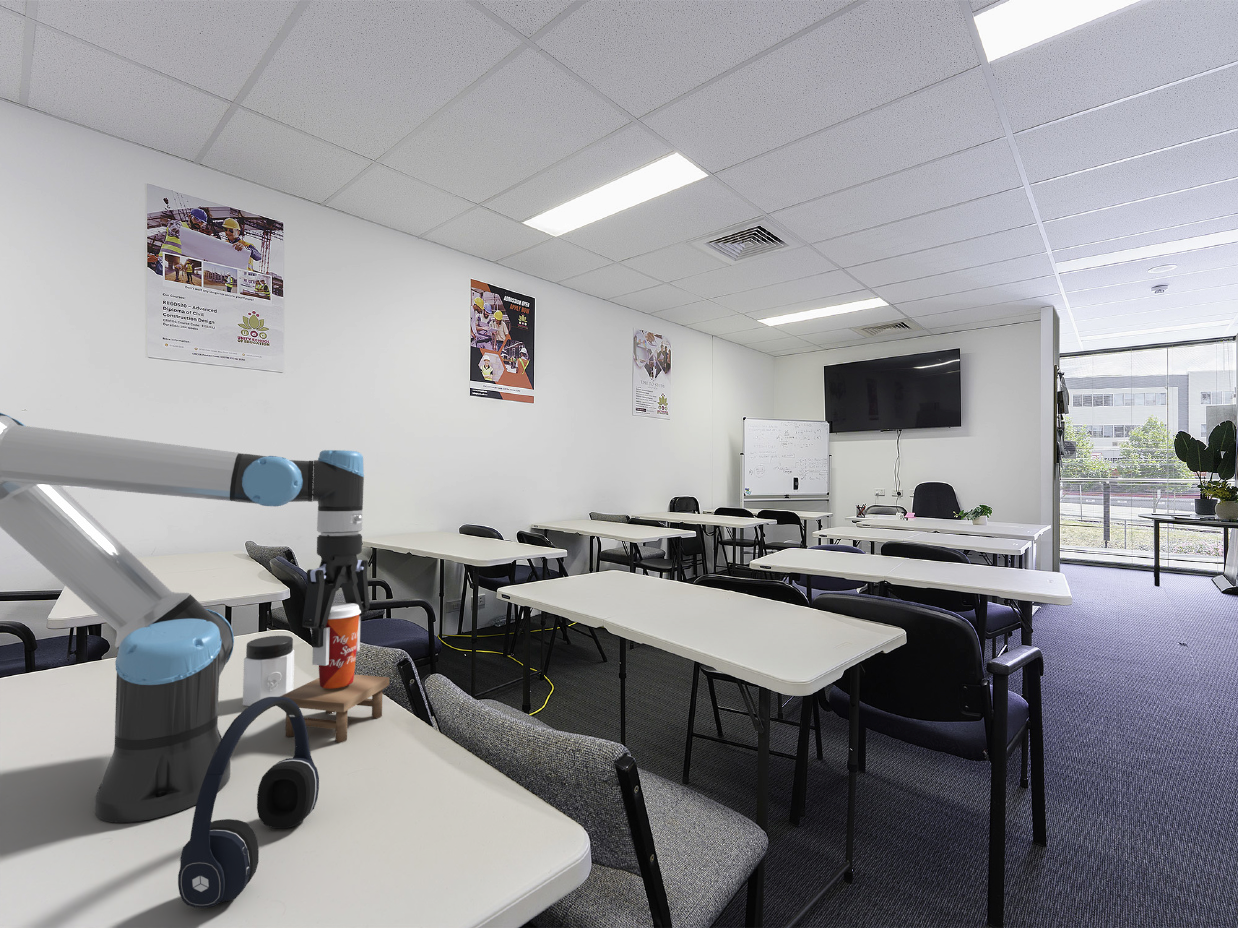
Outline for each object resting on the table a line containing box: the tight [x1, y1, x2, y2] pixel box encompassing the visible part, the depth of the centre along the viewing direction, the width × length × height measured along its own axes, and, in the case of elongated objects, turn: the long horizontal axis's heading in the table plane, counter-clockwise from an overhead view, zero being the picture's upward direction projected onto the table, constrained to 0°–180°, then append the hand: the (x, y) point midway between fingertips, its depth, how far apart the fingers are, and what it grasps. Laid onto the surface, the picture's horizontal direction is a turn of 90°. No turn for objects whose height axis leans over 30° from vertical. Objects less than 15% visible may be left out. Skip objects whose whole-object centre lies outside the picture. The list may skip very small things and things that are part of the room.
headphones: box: [177, 697, 320, 909], centre depth 67 cm, size 20×7×18 cm, turn 2°
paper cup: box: [318, 602, 361, 689], centre depth 104 cm, size 8×8×14 cm
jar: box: [242, 635, 295, 707], centre depth 115 cm, size 9×8×12 cm
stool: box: [280, 673, 390, 744], centre depth 103 cm, size 13×13×7 cm
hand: (336, 656), depth 104 cm, fingers closed on paper cup, 8 cm apart
